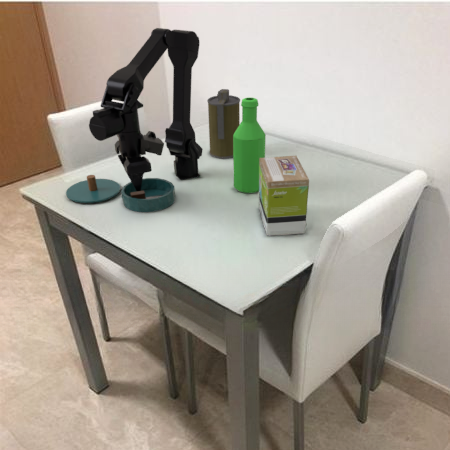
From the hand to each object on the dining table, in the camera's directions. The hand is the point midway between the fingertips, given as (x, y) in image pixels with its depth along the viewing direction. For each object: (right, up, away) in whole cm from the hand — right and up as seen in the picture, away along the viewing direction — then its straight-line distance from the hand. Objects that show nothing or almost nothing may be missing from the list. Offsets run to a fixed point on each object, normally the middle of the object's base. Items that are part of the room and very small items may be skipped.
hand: (136, 186), depth 135 cm
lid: (-14, 0, +8) cm, 16 cm away
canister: (+24, +18, +32) cm, 44 cm away
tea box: (+39, -11, -7) cm, 41 cm away
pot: (+3, -3, +4) cm, 6 cm away
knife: (+3, -3, +3) cm, 5 cm away
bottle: (+31, +1, +9) cm, 33 cm away
